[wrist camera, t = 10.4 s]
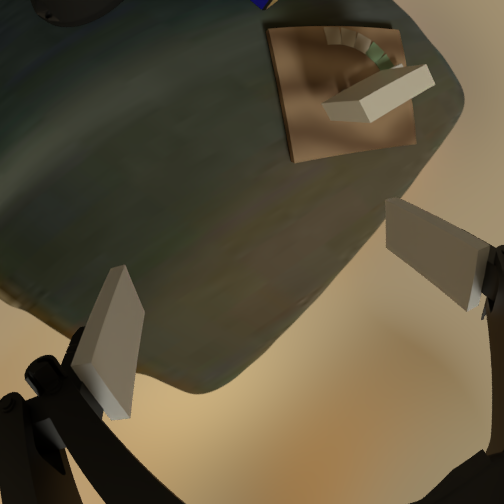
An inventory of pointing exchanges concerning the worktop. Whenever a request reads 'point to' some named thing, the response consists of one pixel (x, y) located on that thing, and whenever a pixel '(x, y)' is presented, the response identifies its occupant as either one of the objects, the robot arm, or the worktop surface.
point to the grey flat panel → (378, 94)
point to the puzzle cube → (264, 3)
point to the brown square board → (335, 88)
